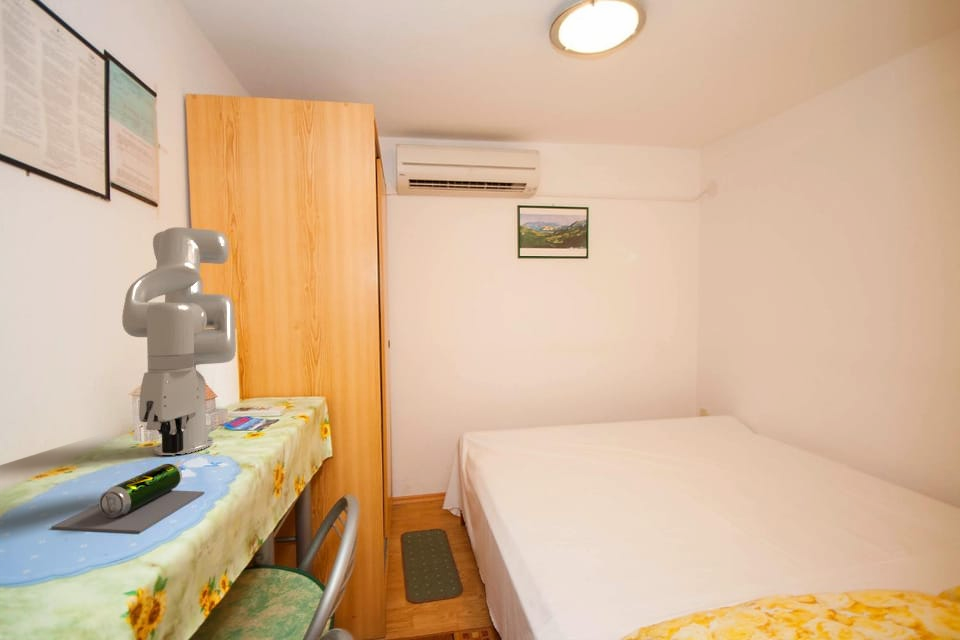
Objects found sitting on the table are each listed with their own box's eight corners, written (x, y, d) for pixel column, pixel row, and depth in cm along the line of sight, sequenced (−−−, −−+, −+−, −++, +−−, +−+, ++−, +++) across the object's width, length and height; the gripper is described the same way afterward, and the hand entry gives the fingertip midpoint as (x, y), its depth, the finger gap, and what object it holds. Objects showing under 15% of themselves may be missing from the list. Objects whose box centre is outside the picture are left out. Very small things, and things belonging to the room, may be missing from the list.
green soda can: (184, 487, 81) (126, 518, 69) (160, 488, 81) (99, 519, 69) (182, 461, 81) (123, 488, 69) (158, 462, 81) (96, 489, 69)
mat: (130, 490, 81) (130, 488, 81) (204, 493, 79) (204, 491, 79) (51, 528, 67) (51, 526, 67) (139, 533, 66) (139, 530, 66)
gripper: (183, 358, 88) (184, 439, 89) (118, 368, 73) (120, 465, 74) (215, 359, 88) (216, 440, 88) (156, 368, 73) (158, 466, 73)
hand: (172, 451), depth 81 cm, fingers closed
